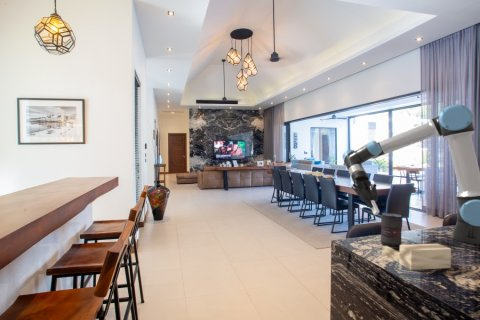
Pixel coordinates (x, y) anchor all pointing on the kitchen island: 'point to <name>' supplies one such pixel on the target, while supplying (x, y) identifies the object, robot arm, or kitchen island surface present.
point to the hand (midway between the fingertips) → (376, 213)
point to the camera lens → (391, 230)
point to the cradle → (421, 256)
